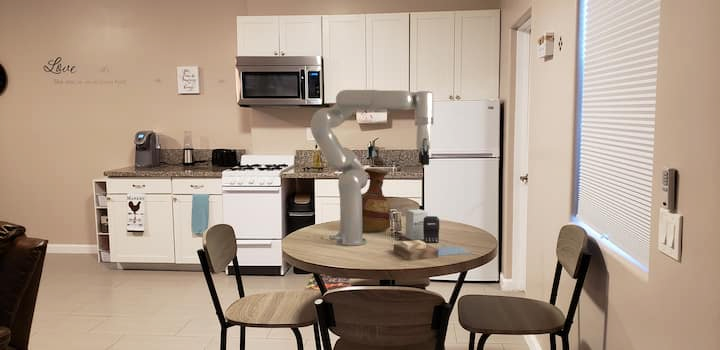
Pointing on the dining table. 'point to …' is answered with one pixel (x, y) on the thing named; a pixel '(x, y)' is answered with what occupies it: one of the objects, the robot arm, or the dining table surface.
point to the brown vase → (375, 203)
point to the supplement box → (415, 224)
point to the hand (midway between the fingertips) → (423, 163)
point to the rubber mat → (451, 250)
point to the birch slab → (413, 244)
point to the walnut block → (416, 252)
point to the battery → (431, 229)
